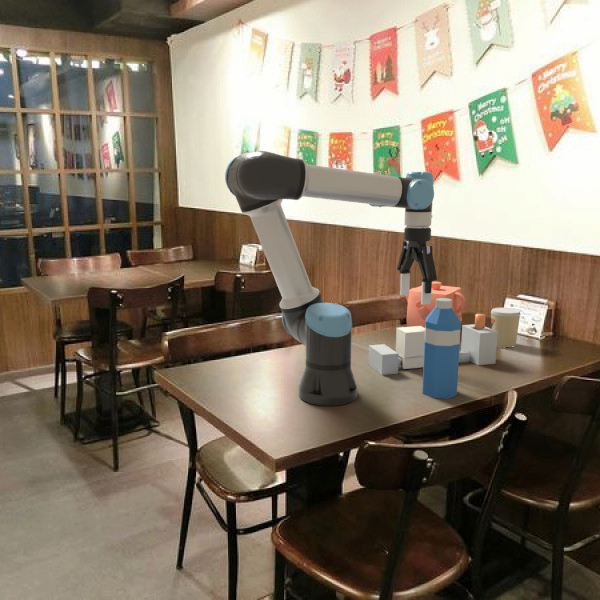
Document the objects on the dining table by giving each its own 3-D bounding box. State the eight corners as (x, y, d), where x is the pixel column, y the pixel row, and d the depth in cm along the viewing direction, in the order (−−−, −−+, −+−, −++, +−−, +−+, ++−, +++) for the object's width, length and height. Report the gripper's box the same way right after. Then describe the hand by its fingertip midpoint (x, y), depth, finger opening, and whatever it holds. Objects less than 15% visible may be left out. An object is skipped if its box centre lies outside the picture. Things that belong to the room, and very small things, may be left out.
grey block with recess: (478, 365, 178) (480, 333, 176) (460, 355, 188) (462, 325, 186) (495, 363, 180) (497, 331, 178) (477, 354, 189) (479, 323, 187)
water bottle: (451, 401, 150) (456, 305, 145) (416, 394, 155) (419, 300, 150) (462, 390, 158) (467, 298, 153) (428, 383, 163) (432, 294, 157)
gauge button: (478, 329, 180) (478, 316, 179) (472, 326, 183) (473, 314, 182) (486, 328, 181) (487, 315, 180) (481, 325, 183) (482, 313, 183)
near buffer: (381, 374, 170) (382, 354, 169) (368, 364, 179) (368, 345, 178) (397, 373, 171) (398, 353, 170) (383, 363, 181) (384, 344, 179)
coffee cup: (493, 339, 206) (496, 306, 204) (521, 344, 201) (524, 309, 198) (484, 345, 199) (487, 310, 196) (513, 350, 193) (515, 314, 191)
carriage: (404, 368, 174) (405, 332, 171) (395, 362, 179) (396, 327, 177) (428, 366, 176) (430, 330, 174) (419, 360, 182) (420, 325, 179)
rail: (392, 369, 175) (392, 359, 174) (388, 366, 177) (389, 357, 176) (469, 361, 182) (470, 352, 181) (465, 359, 184) (466, 350, 183)
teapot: (448, 343, 201) (451, 292, 197) (387, 334, 213) (389, 285, 210) (471, 328, 222) (474, 281, 218) (414, 320, 234) (416, 275, 230)
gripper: (452, 230, 158) (448, 307, 163) (410, 223, 182) (407, 290, 186) (426, 230, 156) (423, 309, 161) (387, 223, 180) (385, 292, 184)
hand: (414, 299), depth 174 cm, fingers open, 13 cm apart
